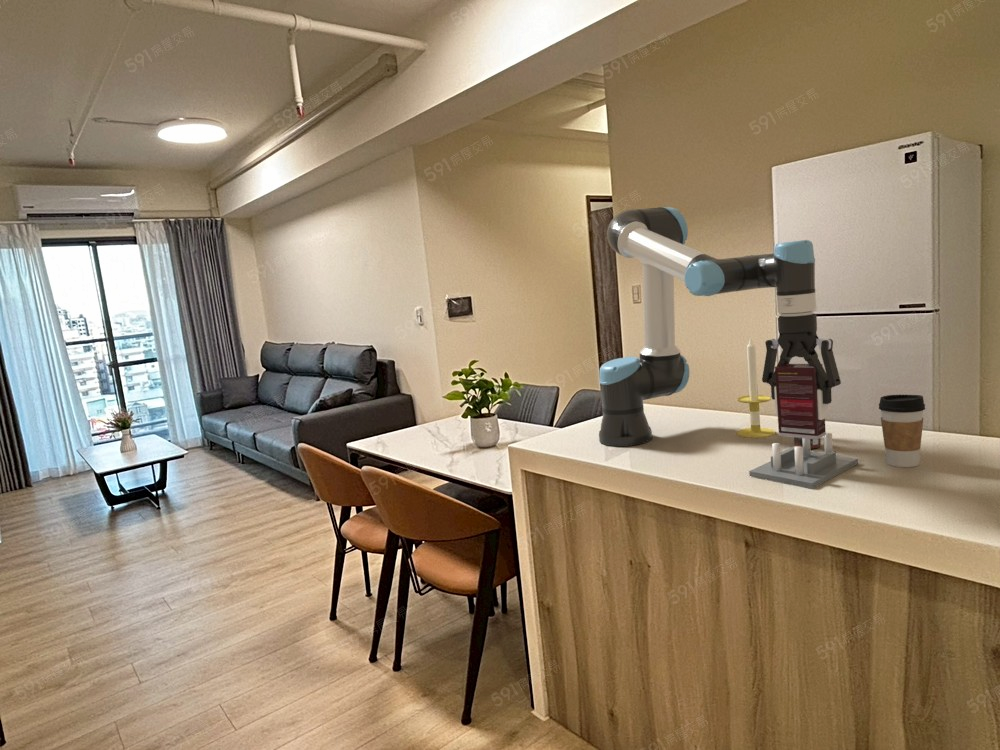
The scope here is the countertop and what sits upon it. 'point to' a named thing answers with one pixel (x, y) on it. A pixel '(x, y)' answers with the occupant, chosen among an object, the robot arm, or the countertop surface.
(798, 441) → the supplement bottle
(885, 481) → the countertop surface
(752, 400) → the candle
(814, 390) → the supplement box
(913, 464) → the coffee cup
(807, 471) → the grey pegged stand
